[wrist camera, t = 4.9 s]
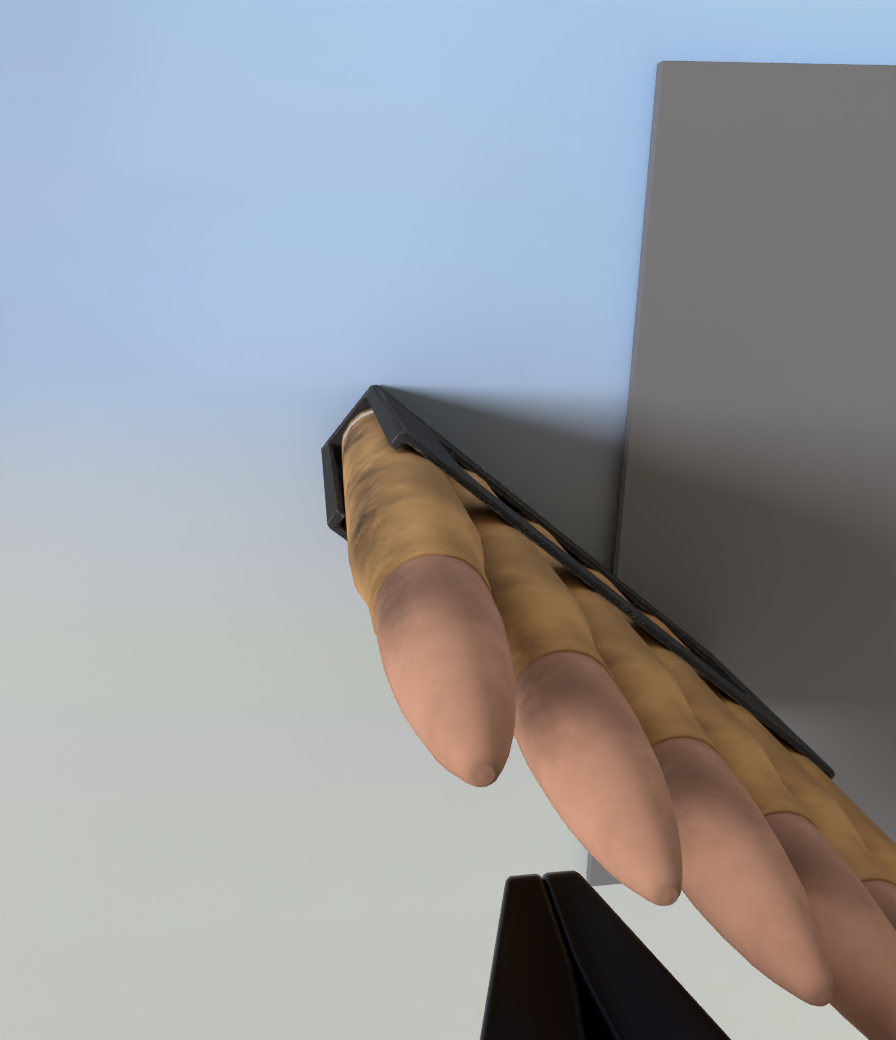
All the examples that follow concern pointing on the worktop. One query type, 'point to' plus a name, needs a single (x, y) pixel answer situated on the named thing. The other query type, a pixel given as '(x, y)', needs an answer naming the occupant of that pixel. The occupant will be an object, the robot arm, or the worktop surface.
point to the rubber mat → (773, 398)
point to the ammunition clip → (608, 715)
